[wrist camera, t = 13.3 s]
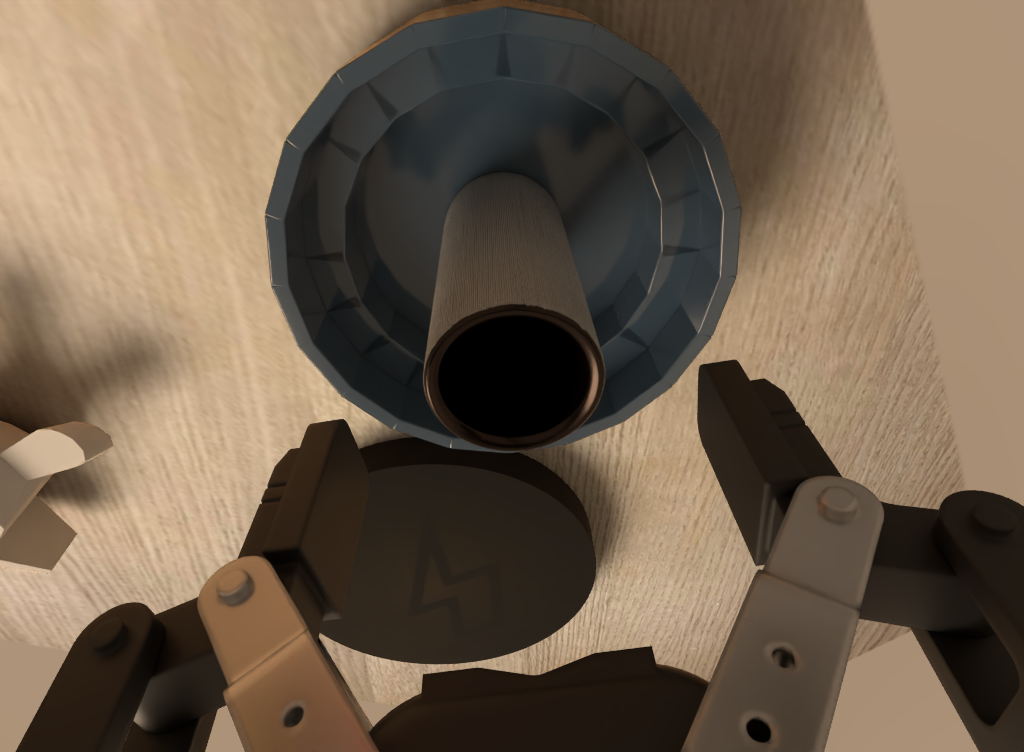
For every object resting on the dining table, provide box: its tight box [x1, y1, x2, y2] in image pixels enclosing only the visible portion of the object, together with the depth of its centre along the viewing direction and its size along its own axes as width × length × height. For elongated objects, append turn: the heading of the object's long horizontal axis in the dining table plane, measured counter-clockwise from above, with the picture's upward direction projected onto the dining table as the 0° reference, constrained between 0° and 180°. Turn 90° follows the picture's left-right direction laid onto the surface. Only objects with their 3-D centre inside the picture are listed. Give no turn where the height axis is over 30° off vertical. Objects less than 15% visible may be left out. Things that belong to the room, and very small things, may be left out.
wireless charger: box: [320, 437, 596, 664], centre depth 34 cm, size 18×18×2 cm
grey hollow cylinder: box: [423, 172, 605, 451], centre depth 19 cm, size 4×4×10 cm
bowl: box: [265, 0, 741, 453], centre depth 21 cm, size 15×15×5 cm
